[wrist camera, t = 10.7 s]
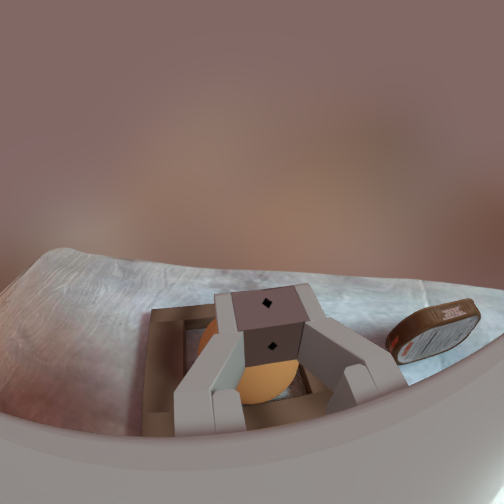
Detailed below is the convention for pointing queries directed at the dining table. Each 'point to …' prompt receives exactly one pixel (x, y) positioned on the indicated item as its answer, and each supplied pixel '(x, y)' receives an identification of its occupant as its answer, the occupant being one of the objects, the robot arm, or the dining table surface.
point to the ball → (258, 375)
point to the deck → (174, 370)
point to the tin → (432, 331)
